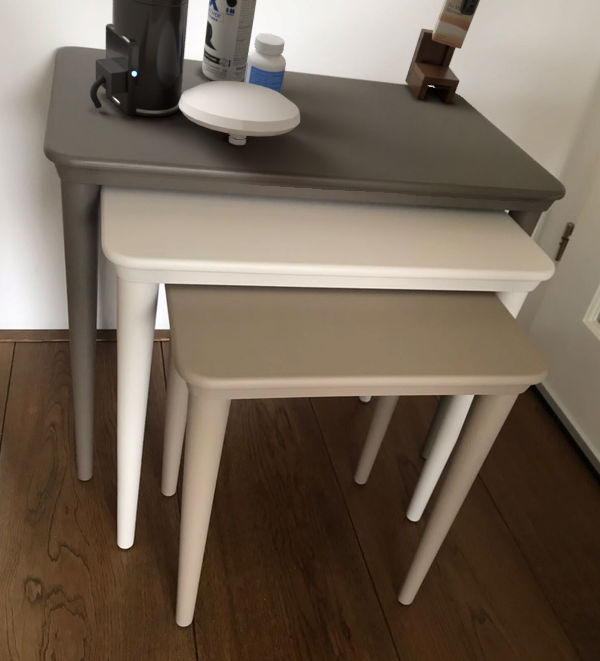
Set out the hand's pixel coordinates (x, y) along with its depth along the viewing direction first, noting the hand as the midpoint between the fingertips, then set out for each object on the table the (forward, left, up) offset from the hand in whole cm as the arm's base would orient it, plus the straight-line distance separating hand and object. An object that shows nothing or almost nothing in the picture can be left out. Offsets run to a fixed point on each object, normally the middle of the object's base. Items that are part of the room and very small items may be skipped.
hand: (459, 6), depth 105 cm
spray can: (-32, +16, -15) cm, 39 cm away
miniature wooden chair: (0, +1, -14) cm, 14 cm away
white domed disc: (-42, -1, -7) cm, 43 cm away
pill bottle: (-33, +5, -14) cm, 37 cm away
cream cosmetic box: (0, 0, -6) cm, 6 cm away
